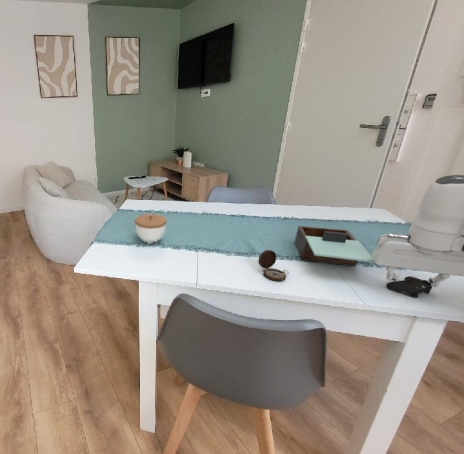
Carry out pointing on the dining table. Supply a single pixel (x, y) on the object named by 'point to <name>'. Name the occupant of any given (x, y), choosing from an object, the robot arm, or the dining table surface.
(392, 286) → the gaming controller
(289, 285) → the dining table surface
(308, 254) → the case
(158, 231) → the lidded bowl
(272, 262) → the compass
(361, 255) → the case lid
